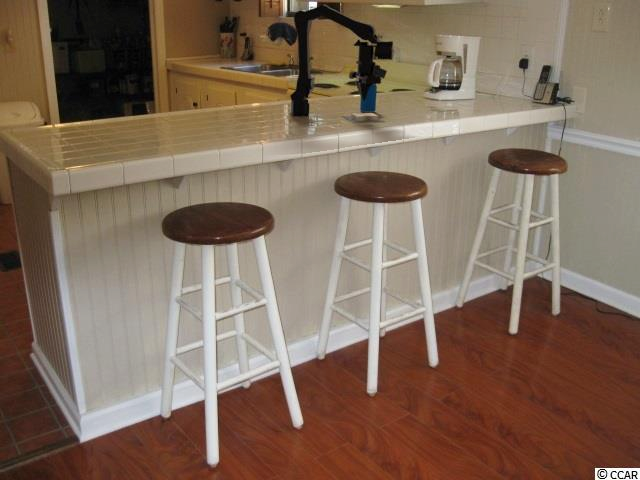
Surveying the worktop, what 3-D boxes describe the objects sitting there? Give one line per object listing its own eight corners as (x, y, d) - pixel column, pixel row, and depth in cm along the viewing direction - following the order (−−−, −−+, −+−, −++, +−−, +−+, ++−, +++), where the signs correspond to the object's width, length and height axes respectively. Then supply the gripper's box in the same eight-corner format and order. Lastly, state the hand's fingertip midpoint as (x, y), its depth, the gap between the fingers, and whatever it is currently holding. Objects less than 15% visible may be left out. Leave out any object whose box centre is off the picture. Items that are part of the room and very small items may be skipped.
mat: (354, 123, 241) (354, 122, 241) (341, 117, 253) (341, 116, 253) (385, 122, 245) (385, 121, 245) (371, 116, 257) (371, 115, 257)
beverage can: (377, 113, 265) (379, 84, 260) (362, 113, 263) (364, 84, 259) (372, 110, 271) (373, 82, 266) (357, 110, 269) (359, 82, 265)
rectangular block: (351, 118, 249) (356, 121, 244) (351, 113, 249) (357, 116, 243) (372, 117, 252) (378, 120, 247) (372, 113, 252) (378, 115, 246)
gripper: (395, 61, 236) (392, 103, 241) (375, 56, 252) (373, 96, 258) (367, 61, 232) (365, 103, 238) (349, 56, 249) (347, 96, 255)
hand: (363, 99), depth 247 cm, fingers closed
